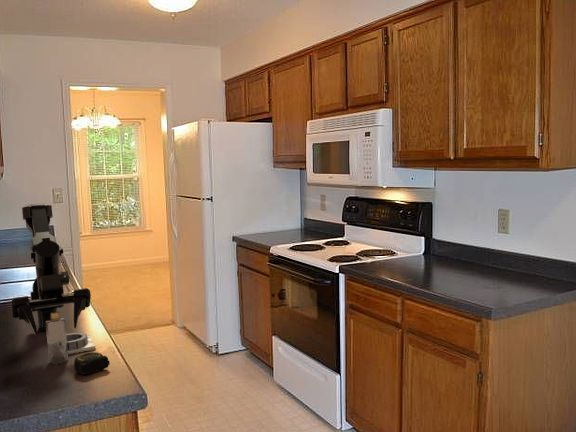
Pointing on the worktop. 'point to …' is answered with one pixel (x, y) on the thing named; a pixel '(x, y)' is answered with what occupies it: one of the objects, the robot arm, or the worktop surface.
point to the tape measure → (90, 363)
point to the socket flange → (79, 343)
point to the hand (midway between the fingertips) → (56, 330)
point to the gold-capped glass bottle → (56, 339)
